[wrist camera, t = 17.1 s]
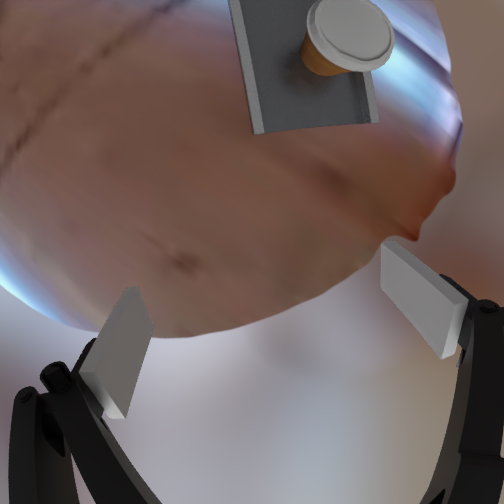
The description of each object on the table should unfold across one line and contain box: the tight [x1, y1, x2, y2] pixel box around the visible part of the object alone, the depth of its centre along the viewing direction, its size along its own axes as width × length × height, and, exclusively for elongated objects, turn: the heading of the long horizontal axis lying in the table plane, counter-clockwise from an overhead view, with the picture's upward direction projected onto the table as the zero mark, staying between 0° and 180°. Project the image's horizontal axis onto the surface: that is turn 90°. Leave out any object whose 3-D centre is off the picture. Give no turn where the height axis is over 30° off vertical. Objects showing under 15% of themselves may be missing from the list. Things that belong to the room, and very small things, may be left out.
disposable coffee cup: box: [300, 0, 395, 76], centre depth 27 cm, size 10×10×12 cm
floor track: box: [228, 0, 379, 135], centre depth 31 cm, size 22×16×3 cm
